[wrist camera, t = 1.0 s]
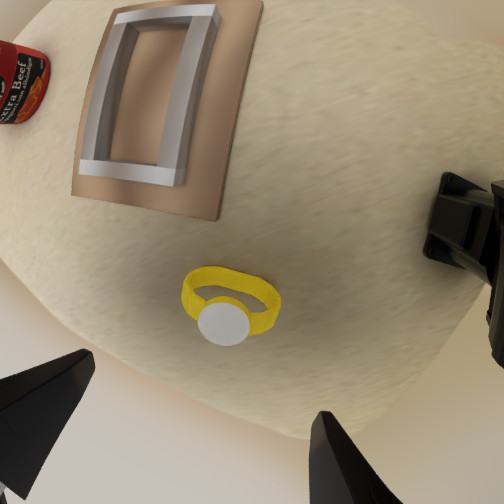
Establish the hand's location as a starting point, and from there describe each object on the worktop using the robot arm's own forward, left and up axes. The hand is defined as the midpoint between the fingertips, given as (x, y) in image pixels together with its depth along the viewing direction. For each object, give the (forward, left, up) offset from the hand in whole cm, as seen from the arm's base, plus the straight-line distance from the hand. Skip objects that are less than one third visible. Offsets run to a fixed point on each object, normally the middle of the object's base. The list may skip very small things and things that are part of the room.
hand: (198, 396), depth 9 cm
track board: (+8, -12, -11) cm, 18 cm away
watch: (0, 0, -11) cm, 11 cm away
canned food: (+24, -14, -11) cm, 30 cm away
